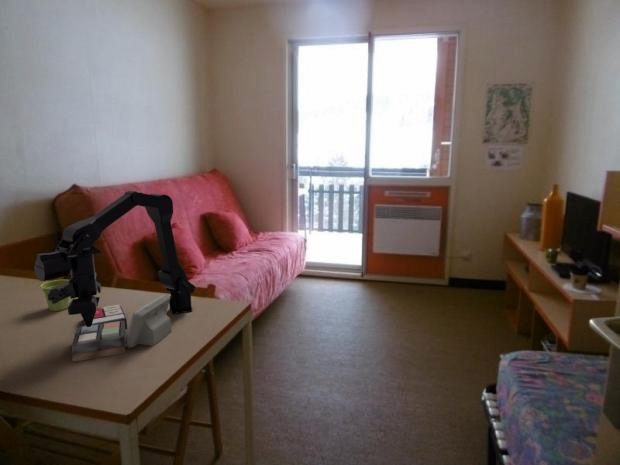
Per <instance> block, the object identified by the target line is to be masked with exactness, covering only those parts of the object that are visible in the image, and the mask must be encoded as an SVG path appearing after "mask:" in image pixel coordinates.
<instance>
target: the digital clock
mask: <svg viewBox="0 0 620 465" xmlns="http://www.w3.org/2000/svg"><path fill="white" fill-rule="evenodd" d="M169 296H170V295H168V294H162V295H160V296H159V297H157V298H156V299H154V300H152V301H150V302H149V303H147V304H144V306H142V307H140V308H139V309H137V310H136V311H134V312H133V314H132V316H131V319H130V322H129V323H130V324H129V326H128V329H127V330H128V331H127V333H126V341H125V348H129V349H131V348H134V347H136V346H137V345H147V346H155V345H157V344H158V343H159V342H160V341H161V340H162V339H164V338H166V337H167V336H168V335H169V334H170V333H171V332H172V324H171V318H170V317H169V316H168V315H167V311H168V308H169V301H170V297H169Z"/></svg>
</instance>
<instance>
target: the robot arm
mask: <svg viewBox="0 0 620 465" xmlns="http://www.w3.org/2000/svg"><path fill="white" fill-rule="evenodd" d="M171 197H172V196H171ZM171 197H170V196H169V195H168V194H161V193H149V194H148V193H144V192H140V191H138V190H136V191H135V190H128V191H125V192H124V194H122V195H121V196H120V197H119V198H117V199H115V200H114V201H113V202H111V203H110V204H109V205H107V206H106V207H103V209H101V210H100V211H98V212H96V214H94V215H92V216H90V217H88V218H85V219H82V220H78V221H77V222H75V223H73V224H70V225H68V226H67V227H66V228H65V229H64V230H63V233H62V238H61V240H60V241H59V242H58V245H57V246H56V247H55V249H54V251H52V252H47V253H44V252H42V253H38V254H37V255H36V259H35V262H34V266H33V267H34V273H35V276H36V278H37V280H38V281H39V282H41V283H44V282H45V281H46V282H48V281H52V280H54V279H56V280H57V279H60V278H63V277H67V276H68V275H70V279H68V280H69V281H68V282H65V283H63V284H61V285H58V286H56V287H54V288H52V289H50V290H49V291H48V293H47V295H48V300H49V301H51V302H52V303H53V304H55V303H58V301H61V300H63V299H65V298H67V297H69V296H70V303H69V306H68V308H67V312H68V315H69V316H74V315H81V317H82V319H83V323H84V322H85V324H86V327H91V326H92V322H93V319H94V316H95V313H96V310H97V308H99V302H100V296H97V294H101V292H102V285H101V283H100V282H98V281H97V272H96V268H95V259H94V255H96V254H101V253H102V250H101V249H99V248H97V247H96V245H94V244H95V243H96V242H97V241H98V240H99V239H100V238H101V236H102V234H103V232H104V231H105V230H106V229H107V228H108V227H110V226H111V225H112V224H114V223H115V222H117V221H119V219H120V218H122V217H123V216H124V215H126V214H127V213H129V212H130V211H131V210H133V209H134V208H135V207H137V206H139V207H143V208H144V209H145V211H146V213H147V215H148V216H149V218H150V219H151V221H152V222H153V224H154V228H155V233H156V238H157V243H158V248H159V252H160V256H161V261H162V267H161V269H160V270H159V271H157V276H158V277H159V283H160V284H161V286H162V287H164V288H165V290H166V292H168V293H170V294H169V295H168V296H169V297H170V301H169V305H168V308H169V310H170V311H171V313H172V315H173V314H179V313H180V314H181V313H186V312H193V307H192V294H194V292H195V289H196V286H195V284H194V285H193V283H191V281H189V279H188V276H187V274H186V271H185V269H184V268H183V266H182V265H181V264H180V262H179V257H178V251H177V248H176V247H177V246H176V240H175V238H174V232H173V231H174V230H173V227H172V222H171V221H172V218H173V214H174V201H173V199H172V198H171ZM71 299H72V300H71Z"/></svg>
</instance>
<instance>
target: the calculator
mask: <svg viewBox="0 0 620 465" xmlns="http://www.w3.org/2000/svg"><path fill="white" fill-rule="evenodd" d="M122 320H125V327H126V330H128V321H127V316H126V314H125V313H124V310H123V308H122V306H121V305H120V304H115V305H107V306H103V307H97V310H96V313H95V316H94V319H93V322H92V325H95V324H102V323H109V322H116V321H122ZM83 326H86V324H85V322H84V321H83Z"/></svg>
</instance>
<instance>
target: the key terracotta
mask: <svg viewBox="0 0 620 465" xmlns="http://www.w3.org/2000/svg"><path fill="white" fill-rule="evenodd" d="M113 327H119V328H120V322H114V323H107V324H104V328H103V329H106V328H113Z"/></svg>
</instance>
